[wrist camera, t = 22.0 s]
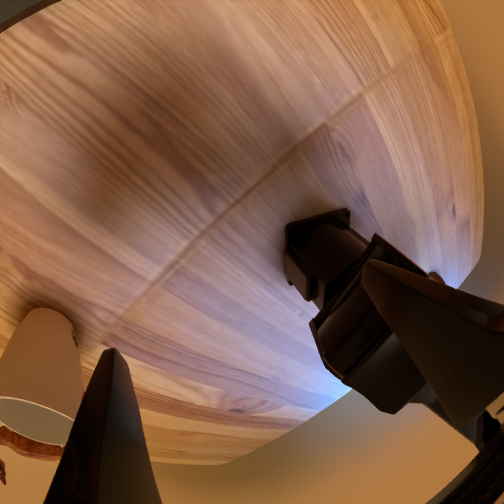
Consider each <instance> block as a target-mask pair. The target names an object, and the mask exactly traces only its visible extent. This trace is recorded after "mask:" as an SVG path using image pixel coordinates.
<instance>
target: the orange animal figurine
mask: <svg viewBox="0 0 504 504" xmlns="http://www.w3.org/2000/svg"><path fill="white" fill-rule="evenodd" d="M0 445H5V446H8V447H9V448H11V449H12V450H14V451H15V452H16V453H18V454H20V455H22V456H25V457H29V458H35V459H41V460H46V461H55V460H60V459H61V456H62V454H63V451H64V448H65V446H63V448H62V447H60V445H52V444H47V443H43V442H39V441H36V440H33V439H30V438H27V437H25V436H23V435H20V434H18V433H16V432H15V431H13V430H11V429H9V428H8V427H6V426H5V425H4V426H2V427H0ZM5 476H6V472H5V464H4V462H3V461H2V460H1V459H0V480H1V481H2V483H3V484H4V485H6V479H5Z"/></svg>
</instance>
